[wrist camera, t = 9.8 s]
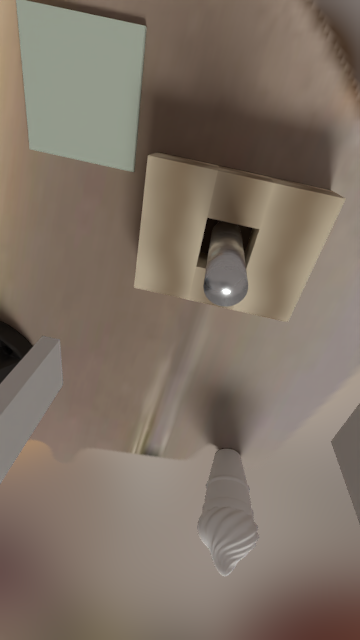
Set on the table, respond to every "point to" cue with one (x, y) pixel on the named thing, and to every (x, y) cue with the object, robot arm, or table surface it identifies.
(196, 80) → the table surface
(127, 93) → the mat
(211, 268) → the peg
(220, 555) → the soft serve ice cream cone
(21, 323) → the table surface
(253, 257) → the block
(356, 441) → the robot arm
